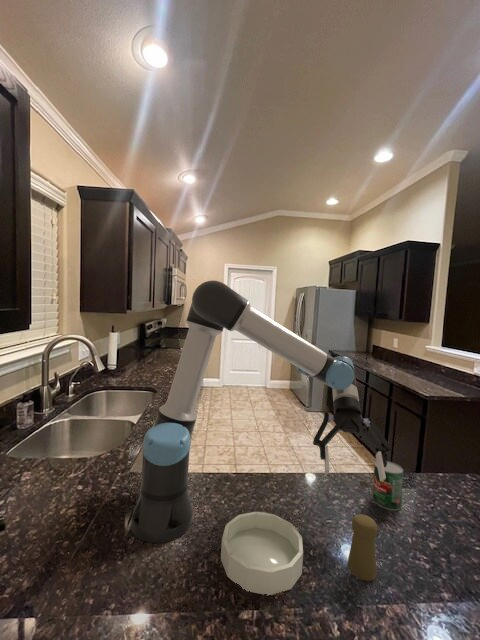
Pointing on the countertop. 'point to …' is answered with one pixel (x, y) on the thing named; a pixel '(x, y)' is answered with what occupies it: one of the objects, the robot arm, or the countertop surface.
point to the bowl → (262, 553)
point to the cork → (363, 548)
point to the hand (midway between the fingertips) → (354, 476)
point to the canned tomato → (388, 487)
